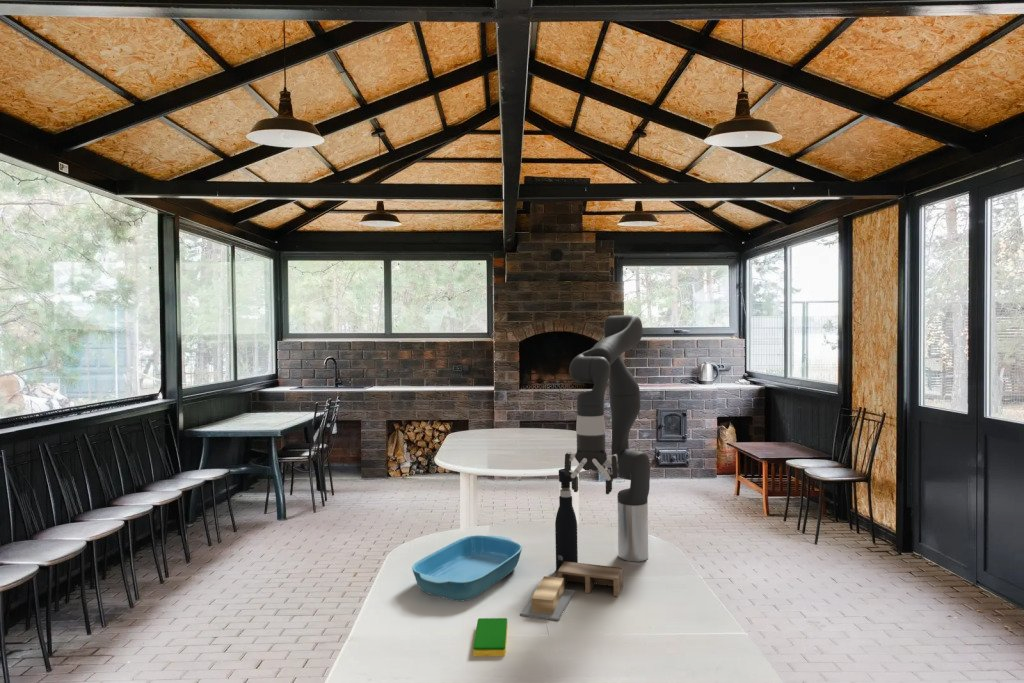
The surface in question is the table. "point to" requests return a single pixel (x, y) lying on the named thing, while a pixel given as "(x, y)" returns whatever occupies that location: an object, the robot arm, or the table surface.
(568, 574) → the walnut shelf
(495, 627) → the dish sponge
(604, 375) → the robot arm
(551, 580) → the oak block
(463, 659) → the table surface
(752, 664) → the table surface
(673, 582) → the table surface
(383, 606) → the table surface
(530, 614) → the slate mat
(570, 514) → the wine bottle
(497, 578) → the casserole dish
